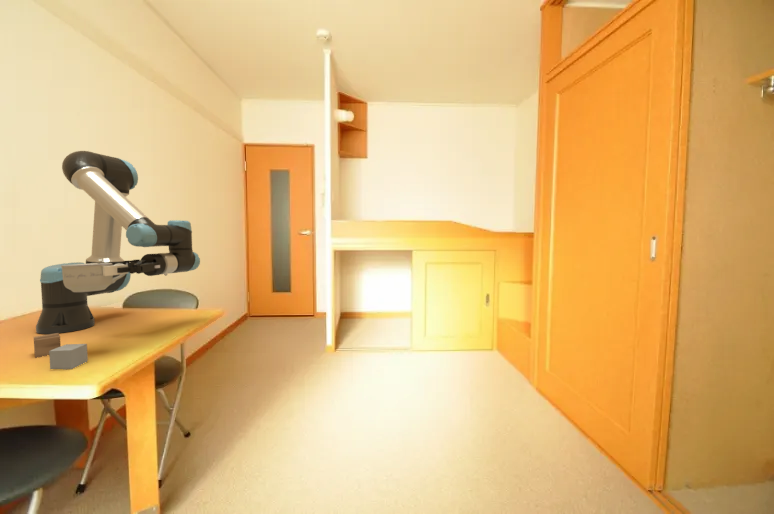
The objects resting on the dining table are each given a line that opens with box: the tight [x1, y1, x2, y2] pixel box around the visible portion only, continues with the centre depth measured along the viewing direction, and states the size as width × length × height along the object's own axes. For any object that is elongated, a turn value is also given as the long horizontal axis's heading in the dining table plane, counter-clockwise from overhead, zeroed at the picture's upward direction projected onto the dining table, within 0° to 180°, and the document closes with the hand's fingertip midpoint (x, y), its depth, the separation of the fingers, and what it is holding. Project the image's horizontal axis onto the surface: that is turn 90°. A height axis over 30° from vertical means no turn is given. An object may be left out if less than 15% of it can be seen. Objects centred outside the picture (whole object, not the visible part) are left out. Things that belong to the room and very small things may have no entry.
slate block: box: [49, 343, 89, 370], centre depth 85 cm, size 5×5×5 cm
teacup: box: [61, 263, 125, 292], centre depth 93 cm, size 14×11×8 cm
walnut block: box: [33, 333, 62, 359], centre depth 93 cm, size 5×5×5 cm
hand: (87, 270), depth 92 cm, fingers closed on teacup, 11 cm apart
